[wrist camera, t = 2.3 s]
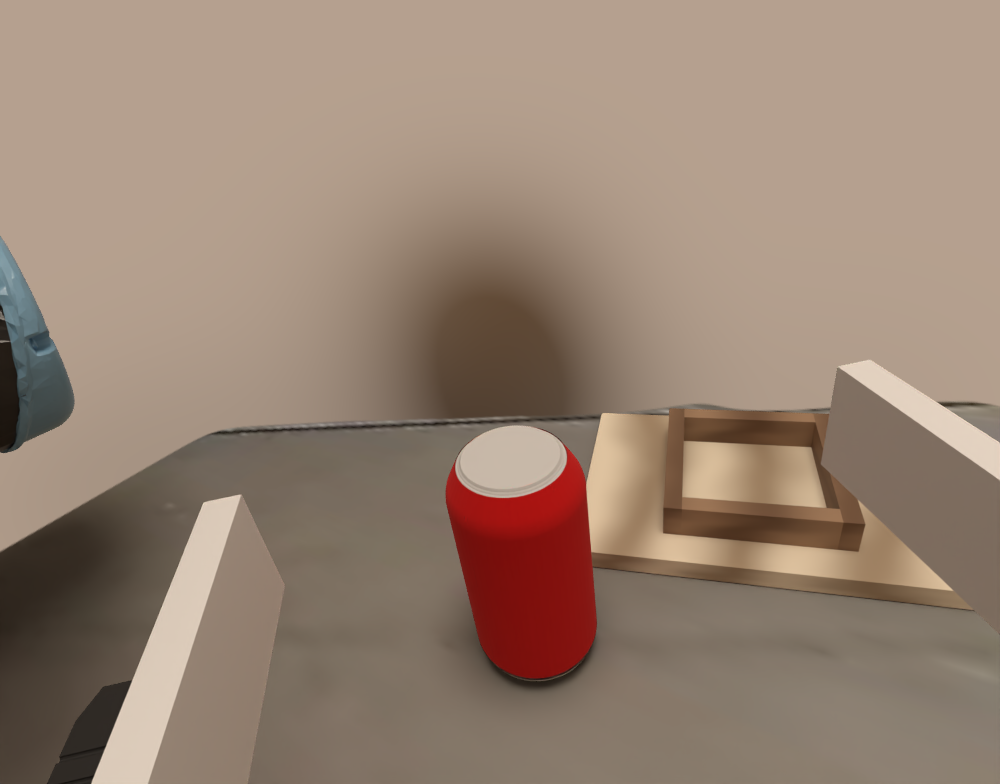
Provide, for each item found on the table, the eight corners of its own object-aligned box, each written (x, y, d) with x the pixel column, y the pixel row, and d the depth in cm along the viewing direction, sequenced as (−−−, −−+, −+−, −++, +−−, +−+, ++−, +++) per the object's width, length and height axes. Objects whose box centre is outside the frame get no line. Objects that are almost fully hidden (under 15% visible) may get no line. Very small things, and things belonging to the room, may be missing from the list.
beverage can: (507, 713, 28) (464, 527, 22) (465, 614, 33) (421, 440, 27) (620, 659, 30) (612, 471, 23) (564, 572, 35) (544, 399, 28)
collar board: (573, 564, 35) (569, 524, 33) (602, 425, 46) (601, 391, 45) (979, 610, 29) (998, 565, 28) (900, 439, 40) (910, 399, 39)
